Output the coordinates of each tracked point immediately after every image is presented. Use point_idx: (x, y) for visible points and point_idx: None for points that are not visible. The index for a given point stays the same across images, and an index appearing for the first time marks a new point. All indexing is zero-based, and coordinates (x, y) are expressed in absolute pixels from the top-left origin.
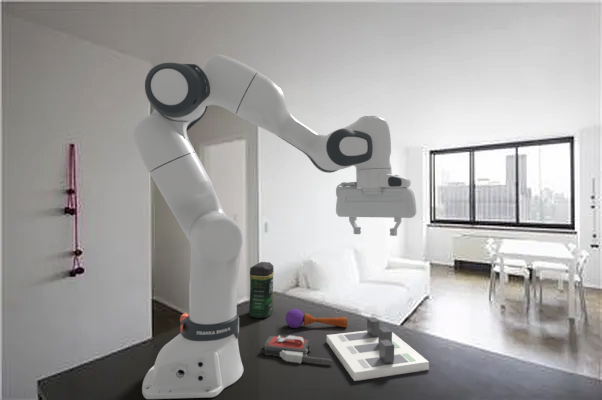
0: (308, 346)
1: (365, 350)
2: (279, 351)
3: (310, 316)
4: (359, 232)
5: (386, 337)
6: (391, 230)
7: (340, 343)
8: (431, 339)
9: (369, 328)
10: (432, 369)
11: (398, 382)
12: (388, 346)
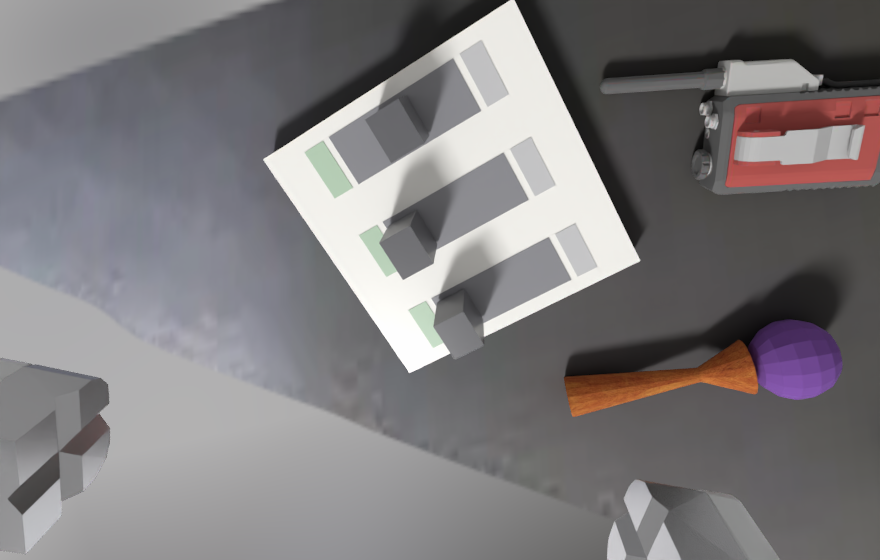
0: (707, 153)
1: (482, 176)
2: (825, 89)
3: (726, 375)
4: (634, 515)
5: (402, 225)
6: (6, 414)
7: (580, 206)
8: (267, 362)
9: (473, 313)
10: (262, 161)
11: (365, 43)
12: (387, 106)
